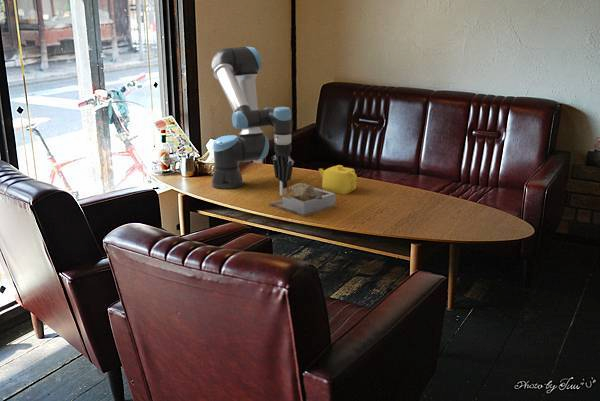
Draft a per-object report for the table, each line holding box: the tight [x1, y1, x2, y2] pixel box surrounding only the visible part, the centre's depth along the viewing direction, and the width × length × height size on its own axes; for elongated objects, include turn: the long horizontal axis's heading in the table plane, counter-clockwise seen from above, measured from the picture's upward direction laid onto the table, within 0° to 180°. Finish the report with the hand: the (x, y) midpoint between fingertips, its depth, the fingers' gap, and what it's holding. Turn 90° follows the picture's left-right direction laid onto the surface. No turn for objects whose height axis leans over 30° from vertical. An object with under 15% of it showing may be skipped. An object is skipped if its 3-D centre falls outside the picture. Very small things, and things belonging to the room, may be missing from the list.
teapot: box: [318, 164, 358, 195], centre depth 302 cm, size 20×12×12 cm, turn 57°
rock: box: [288, 182, 320, 201], centre depth 277 cm, size 11×12×10 cm
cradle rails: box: [282, 187, 336, 214], centre depth 276 cm, size 14×19×5 cm
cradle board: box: [268, 198, 336, 218], centre depth 280 cm, size 22×19×1 cm
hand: (283, 194), depth 288 cm, fingers closed
